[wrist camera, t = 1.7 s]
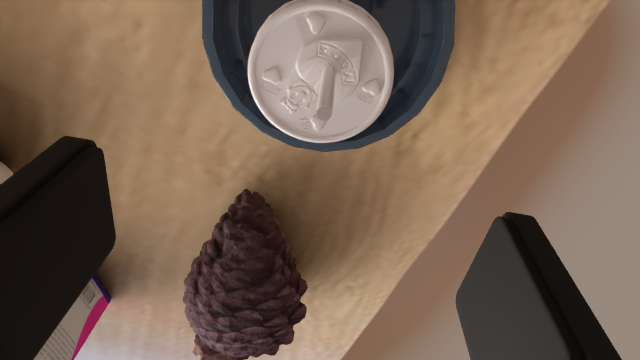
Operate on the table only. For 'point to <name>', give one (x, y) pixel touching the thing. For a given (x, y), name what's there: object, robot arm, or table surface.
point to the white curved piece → (4, 172)
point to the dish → (395, 20)
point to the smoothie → (321, 69)
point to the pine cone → (244, 285)
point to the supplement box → (76, 324)
